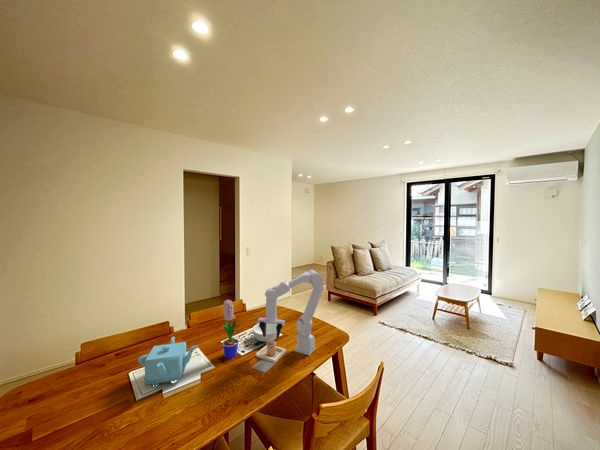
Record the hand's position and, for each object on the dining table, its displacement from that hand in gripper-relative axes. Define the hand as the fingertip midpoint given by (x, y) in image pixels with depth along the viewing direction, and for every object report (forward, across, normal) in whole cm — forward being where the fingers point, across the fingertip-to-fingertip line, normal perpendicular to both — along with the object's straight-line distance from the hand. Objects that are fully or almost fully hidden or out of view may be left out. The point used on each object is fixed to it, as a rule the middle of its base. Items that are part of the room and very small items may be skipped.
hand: (271, 336), depth 125 cm
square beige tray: (+10, 0, 0) cm, 10 cm away
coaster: (+10, 0, +10) cm, 14 cm away
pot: (+9, 0, 0) cm, 9 cm away
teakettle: (+10, +39, +28) cm, 49 cm away
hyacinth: (+10, +20, +6) cm, 23 cm away
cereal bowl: (+10, +9, -15) cm, 20 cm away
